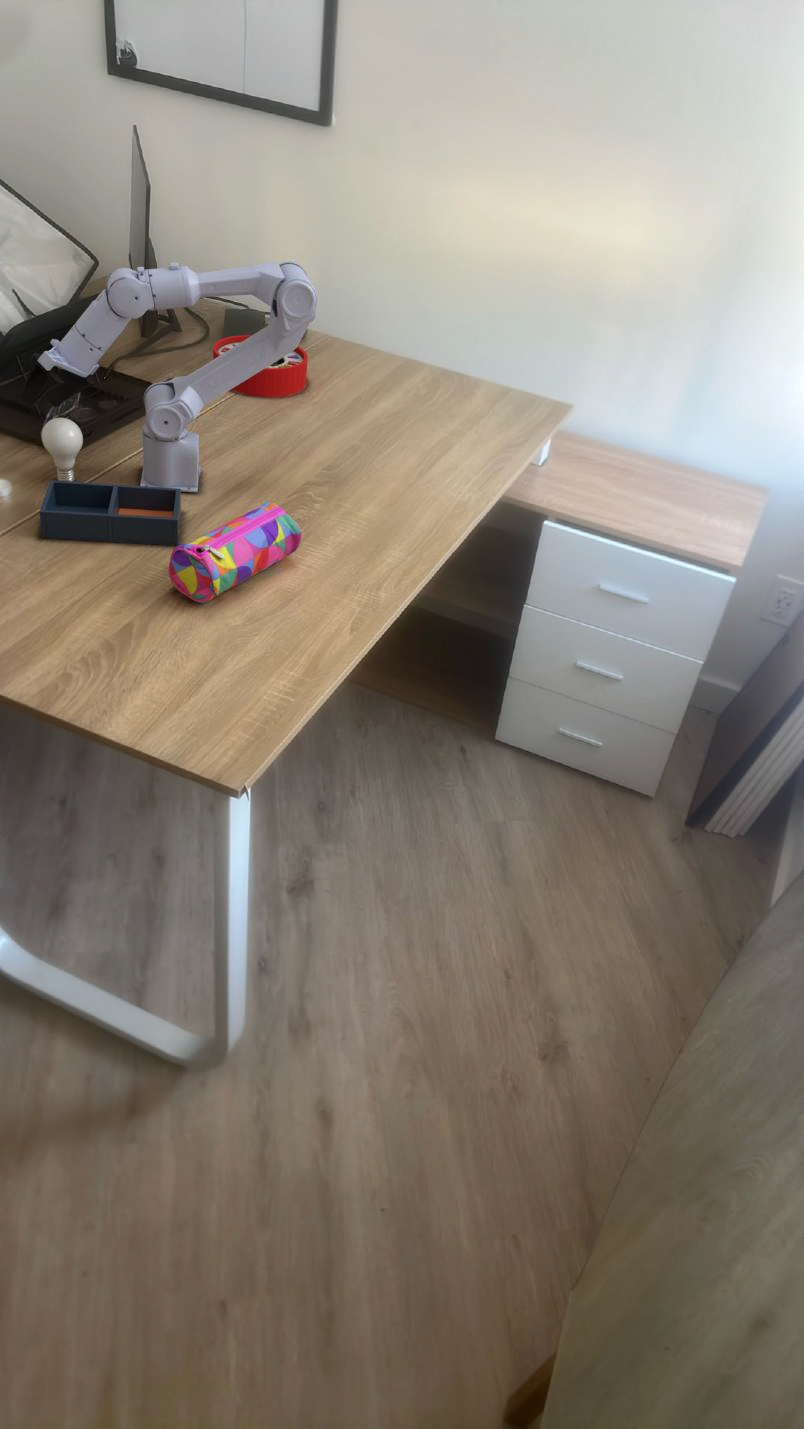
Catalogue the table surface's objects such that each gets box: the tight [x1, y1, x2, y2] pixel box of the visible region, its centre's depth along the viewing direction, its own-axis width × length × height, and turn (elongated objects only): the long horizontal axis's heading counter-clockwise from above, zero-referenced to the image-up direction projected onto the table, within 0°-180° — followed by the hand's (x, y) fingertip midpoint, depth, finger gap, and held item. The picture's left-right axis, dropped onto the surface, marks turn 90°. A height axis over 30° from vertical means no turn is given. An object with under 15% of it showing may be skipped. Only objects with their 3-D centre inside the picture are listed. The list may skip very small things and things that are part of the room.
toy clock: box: [212, 334, 309, 398], centre depth 203 cm, size 20×6×20 cm
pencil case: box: [168, 501, 302, 604], centre depth 140 cm, size 22×9×9 cm, turn 148°
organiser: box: [39, 479, 182, 547], centre depth 148 cm, size 20×10×4 cm, turn 98°
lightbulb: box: [40, 417, 84, 482], centre depth 155 cm, size 6×6×11 cm
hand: (38, 402), depth 150 cm, fingers open, 7 cm apart
